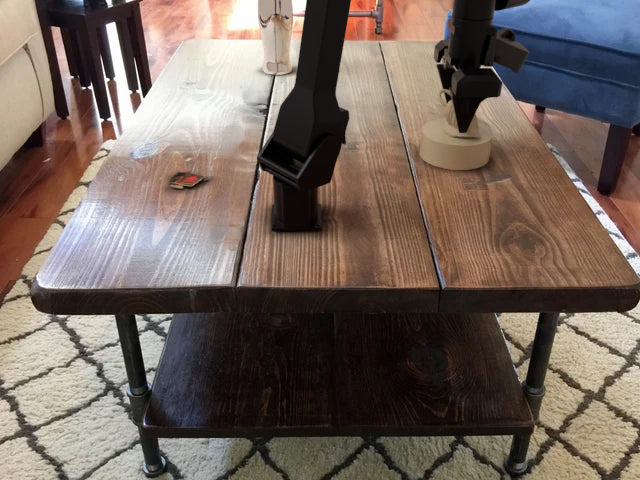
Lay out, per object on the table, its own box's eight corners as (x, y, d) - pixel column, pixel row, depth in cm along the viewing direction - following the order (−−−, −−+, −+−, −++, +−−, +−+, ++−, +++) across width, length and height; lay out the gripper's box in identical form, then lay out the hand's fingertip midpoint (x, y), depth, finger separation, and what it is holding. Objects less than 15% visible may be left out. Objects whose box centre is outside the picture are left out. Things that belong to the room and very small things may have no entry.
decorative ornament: (459, 142, 96) (464, 107, 93) (430, 123, 102) (434, 89, 99) (482, 138, 97) (487, 104, 94) (452, 119, 103) (457, 86, 100)
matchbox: (176, 173, 95) (175, 170, 95) (209, 176, 94) (209, 173, 94) (164, 187, 91) (164, 184, 91) (199, 190, 91) (198, 187, 90)
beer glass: (256, 67, 136) (252, -10, 127) (286, 63, 139) (284, -12, 130) (267, 77, 131) (264, -2, 122) (299, 73, 134) (297, -5, 125)
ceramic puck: (496, 170, 98) (501, 145, 95) (425, 170, 97) (427, 145, 95) (480, 141, 106) (483, 117, 104) (414, 141, 106) (416, 117, 104)
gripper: (550, 33, 82) (526, 148, 92) (511, 1, 97) (494, 102, 107) (464, 33, 82) (449, 148, 91) (438, 0, 97) (428, 102, 106)
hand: (457, 123), depth 99 cm, fingers closed on decorative ornament, 7 cm apart
